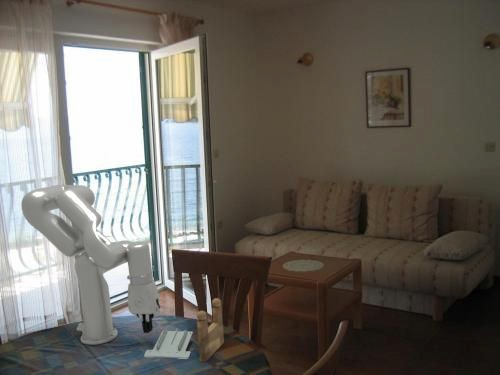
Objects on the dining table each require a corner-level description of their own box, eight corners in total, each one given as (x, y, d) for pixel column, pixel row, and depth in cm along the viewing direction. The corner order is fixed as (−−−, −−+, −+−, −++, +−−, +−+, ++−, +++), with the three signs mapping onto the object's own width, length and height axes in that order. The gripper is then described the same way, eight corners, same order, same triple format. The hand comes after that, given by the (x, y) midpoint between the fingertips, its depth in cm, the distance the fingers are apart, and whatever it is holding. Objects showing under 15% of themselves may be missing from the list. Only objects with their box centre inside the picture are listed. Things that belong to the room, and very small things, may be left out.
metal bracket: (156, 324, 173) (198, 325, 170) (159, 338, 175) (200, 339, 172) (141, 354, 160) (186, 356, 157) (144, 368, 162) (189, 370, 159)
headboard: (198, 360, 157) (195, 312, 155) (217, 341, 170) (214, 296, 168) (207, 362, 156) (203, 313, 154) (225, 342, 169) (222, 297, 167)
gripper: (116, 282, 168) (123, 334, 170) (154, 283, 162) (161, 337, 164) (129, 275, 175) (135, 325, 177) (166, 276, 169) (173, 328, 171)
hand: (148, 331), depth 171 cm, fingers closed
